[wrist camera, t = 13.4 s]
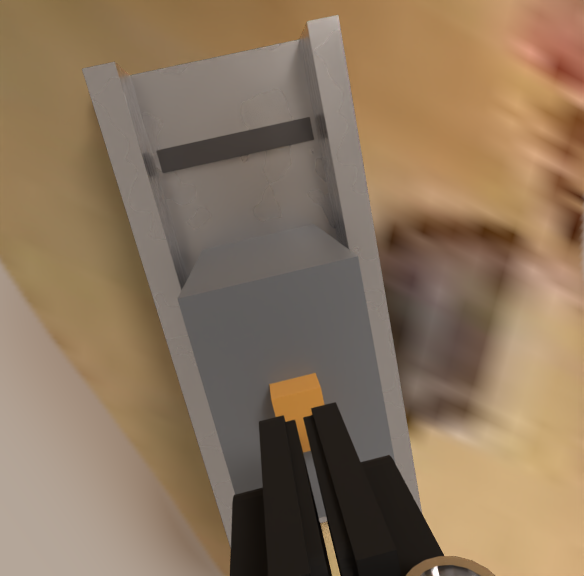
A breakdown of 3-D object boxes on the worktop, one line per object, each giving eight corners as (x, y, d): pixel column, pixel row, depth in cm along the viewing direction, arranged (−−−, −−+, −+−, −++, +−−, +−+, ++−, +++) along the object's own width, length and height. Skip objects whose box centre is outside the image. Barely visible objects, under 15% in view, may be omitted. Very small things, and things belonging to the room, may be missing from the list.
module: (202, 249, 18) (172, 308, 10) (313, 223, 18) (366, 262, 10) (246, 409, 19) (248, 560, 12) (346, 384, 20) (411, 517, 12)
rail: (96, 89, 17) (65, 71, 14) (334, 38, 17) (353, 11, 14) (231, 530, 22) (229, 584, 19) (411, 483, 22) (436, 529, 19)
